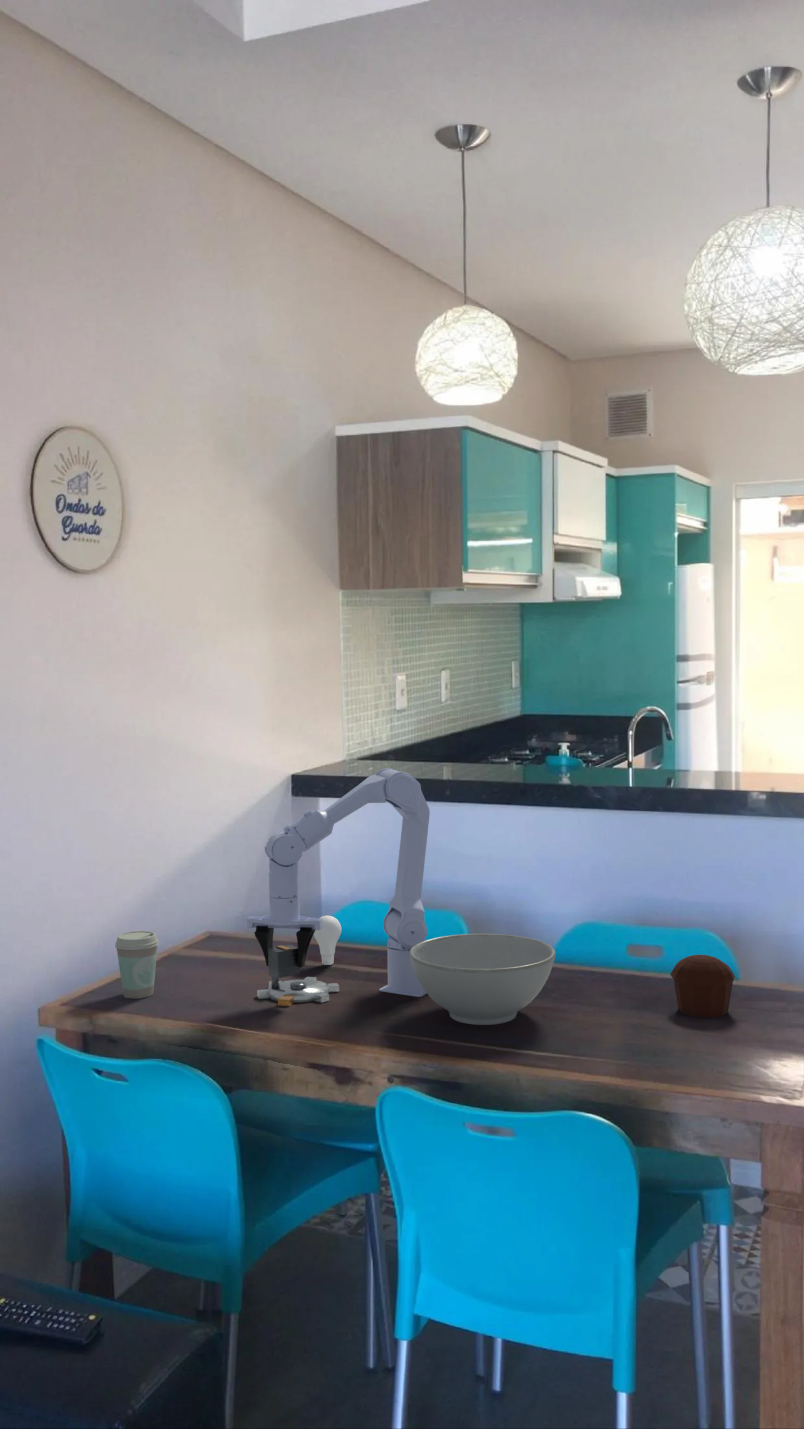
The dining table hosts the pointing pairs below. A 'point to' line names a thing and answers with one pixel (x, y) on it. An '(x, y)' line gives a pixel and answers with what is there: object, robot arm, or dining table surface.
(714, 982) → the muffin
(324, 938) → the lightbulb
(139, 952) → the coffee cup
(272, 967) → the banded cube
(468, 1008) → the decorative bowl
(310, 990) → the sprocket
